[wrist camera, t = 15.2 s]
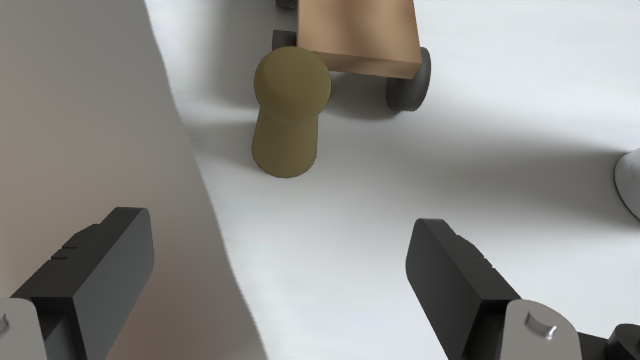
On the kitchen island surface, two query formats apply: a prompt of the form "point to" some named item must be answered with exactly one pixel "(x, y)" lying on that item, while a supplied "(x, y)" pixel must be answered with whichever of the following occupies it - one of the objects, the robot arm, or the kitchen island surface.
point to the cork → (289, 110)
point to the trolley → (365, 43)
